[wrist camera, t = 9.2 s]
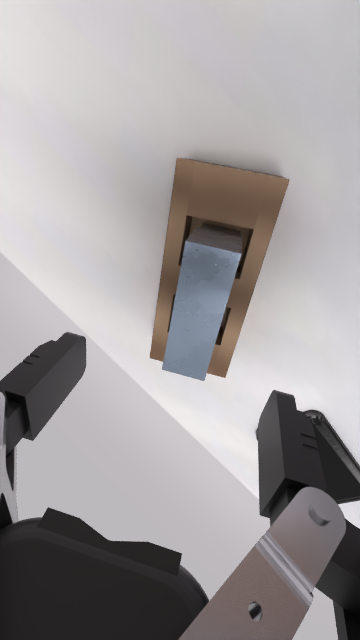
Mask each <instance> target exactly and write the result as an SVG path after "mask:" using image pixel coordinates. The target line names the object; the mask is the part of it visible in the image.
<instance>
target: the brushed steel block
mask: <svg viewBox="0 0 360 640" xmlns="http://www.w3.org/2000/svg"><path fill="white" fill-rule="evenodd" d="M241 253H242V236H241V231H237V230H232V229H228V228H223V227H219V226H215V225H210V224H206V223H203V224H202V225H201V227H198V226H197V227H196V228H195V229H194V231H193V232H192V233H191V235H190V236H189V237H188V239H187V240H186V242H185V247H184V253H183V258H182V263H181V269H180V274H179V280H178V285H177V291H176V296H175V301H174V307H173V312H172V318H171V323H170V329H169V334H168V339H167V345H166V350H165V356H164V361H163V367H162V370H166V371H170V372H173V373H177V374H180V375H184V376H188V377H191V378H195V379H199V380H202V381H204V380H205V377H206V373H207V370H208V366H209V363H210V360H211V356H212V353H213V349H214V346H215V343H216V339H217V336H218V332H219V329H220V325H221V322H222V319H223V315H224V312H225V308H226V305H227V302H228V298H229V295H230V291H231V288H232V285H233V281H234V278H235V274H236V271H237V267H238V264H239V261H240V257H241Z"/></svg>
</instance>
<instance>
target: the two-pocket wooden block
mask: <svg viewBox="0 0 360 640" xmlns="http://www.w3.org/2000/svg"><path fill="white" fill-rule="evenodd" d="M288 183H289V179H286V178H284V177H280V176H275V175H270V174H265V173H259V172H254V171H249V170H244V169H238V168H233V167H228V166H223V165H218V164H212V163H207V162H202V161H197V160H191V159H183V158H177V161H176V168H175V175H174V183H173V190H172V197H171V205H170V212H169V220H168V227H167V234H166V242H165V249H164V256H163V264H162V271H161V278H160V286H159V293H158V301H157V308H156V315H155V323H154V330H153V337H152V345H151V352H150V358H152V359H155V360H159V361H164V356H165V350H166V345H167V339H168V334H169V329H170V323H171V318H172V312H173V307H174V301H175V296H176V291H177V285H178V280H179V274H180V269H181V263H182V258H183V253H184V247H185V242H186V240H187V239H188V237H189V236H190V235H191V233H192V232H193V231H194V229H195V228H196V227H197V226H198V227H201V225H202V224H203V223H206V224H210V225H215V226H219V227H223V228H228V229H232V230H237V231H241V236H242V253H241V257H240V261H239V264H238V267H237V271H236V274H235V278H234V281H233V285H232V288H231V291H230V295H229V298H228V302H227V305H226V308H225V312H224V315H223V319H222V322H221V325H220V329H219V332H218V336H217V339H216V343H215V346H214V349H213V353H212V356H211V360H210V363H209V366H208V370H207V373H209V374H213V375H217V376H220V377H224V378H225V377H226V374H227V371H228V368H229V365H230V361H231V358H232V355H233V352H234V349H235V346H236V343H237V340H238V337H239V334H240V331H241V328H242V324H243V321H244V318H245V315H246V312H247V309H248V306H249V303H250V300H251V297H252V294H253V291H254V288H255V284H256V281H257V278H258V275H259V272H260V269H261V266H262V263H263V260H264V257H265V254H266V251H267V248H268V244H269V241H270V238H271V235H272V232H273V229H274V226H275V223H276V220H277V217H278V214H279V211H280V207H281V204H282V201H283V198H284V195H285V192H286V189H287V186H288Z"/></svg>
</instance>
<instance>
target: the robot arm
mask: <svg viewBox="0 0 360 640" xmlns="http://www.w3.org/2000/svg"><path fill="white" fill-rule="evenodd" d="M85 368H86V339H85V337H84V336H80V335H77V334H73V333H69V332H66V333H64V334H63V335H62V337H60V338H59V339H58V340H57V341H53V340H51V341H49V342H47V343H44V344H42V345H40V346H39V347H38V348H36V349H35V350H34V351H33V352H32V353H31V354H30V356H27V357H26V358H25V359H24V360H23V362H22V363H20V364H19V365H17V366H16V367H15V368H14V369H13V370H12V371H11V372H10V373H9V374H7V375H6V376H5V377H4V378H3V379H2V380H1V381H0V640H292V638H293V637H294V635H295V633H296V631H297V629H298V627H299V626H300V624H301V622H302V620H303V619H304V617H305V615H306V613H307V611H308V609H309V607H310V605H311V603H312V601H313V595H312V592H313V589H314V587H316V588H317V589H318V590H320V591H321V592H323V593H324V594H325V595H326V596H328V597H329V598H330V599H332V600H333V605H334V612H335V619H336V627H337V634H338V640H360V529H359V528H357V527H356V526H354V525H353V524H351V523H350V522H349V521H348V520H346V519H345V518H344V515H343V513H342V511H341V509H340V507H339V506H338V504H337V503H336V502H335V501H334V500H333V499H332V498H331V497H330V496H329V494H328V491H327V487H326V482H325V478H324V474H323V469H322V465H321V460H320V456H319V451H318V450H317V449H318V447H317V442H316V440H315V434H314V429H313V425H312V423H311V422H310V420H309V418H308V417H307V415H306V414H305V412H301V411H298V410H297V409H296V403H295V398H294V396H293V395H290V394H287V393H283V392H279V391H276V390H274V391H272V393H271V395H270V397H269V399H268V401H267V403H266V405H265V407H264V410H263V412H262V414H261V416H260V419H259V424H258V459H259V501H260V503H259V504H260V515H261V516H264V517H268V518H270V528H269V529H268V531H267V532H266V533H265V534H264V535H263V536H262V537H261V538H260V540H259V541H258V542H257V543H256V544H255V546H254V547H253V548H252V549H251V551H250V552H249V553H248V554H247V556H246V557H245V558H244V559H243V560H242V562H241V563H240V564H239V566H238V567H237V568H236V569H235V570H234V572H233V573H232V574H231V575H230V576H229V578H228V579H227V580H226V581H225V583H224V584H223V585H222V586H221V588H220V589H219V590H218V591H217V592H216V594H215V595H214V596H213V598H212V599H211V600H210V601H209V599H208V597H207V596H206V594H205V592H204V590H203V589H202V587H201V586H200V584H199V583H198V582H197V581H196V579H195V578H194V577H193V576H192V575H191V574H190V573H189V572H188V571H187V570H186V569H185V568H184V567H183V566H181V565H180V561H181V555H182V554H181V553H179V552H176V551H173V550H170V549H167V548H164V547H161V546H158V545H155V544H153V543H149V542H130V541H110V540H107V539H106V538H104V537H103V536H102V535H101V534H99V533H98V532H97V531H95V530H94V529H93V528H92V527H90V526H89V525H88V524H86V523H85V522H84V521H82V520H81V519H80V518H77V517H74V516H71V515H69V514H65V513H63V512H60V511H57V510H54V509H51V508H47V510H46V512H45V514H44V515H43V517H42V518H30V519H26V520H22V521H18V511H17V503H16V455H17V453H16V451H17V450H16V445H17V444H18V442H19V441H20V440H21V439H22V437H23V438H26V439H29V440H32V441H33V440H34V439H35V437H36V436H37V435H38V434H39V432H40V431H41V430H42V428H43V427H44V426H45V425H46V423H47V422H48V421H49V419H50V418H51V417H52V415H53V414H54V413H55V412H56V410H57V409H58V408H59V406H60V405H61V404H62V402H63V401H64V400H65V398H66V397H67V396H68V394H69V393H70V392H71V390H72V389H73V388H74V387H75V385H76V384H77V383H78V381H79V380H80V379H81V377H82V376H83V373H84V371H85Z"/></svg>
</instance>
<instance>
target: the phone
mask: <svg viewBox="0 0 360 640" xmlns="http://www.w3.org/2000/svg"><path fill="white" fill-rule="evenodd" d="M305 414H306V415H307V417H308V418H309V420H310V422H311V423H312V425H313V429H314V434H315V440H316V442H317V447H318V449H317V450H318V451H319V456H320V460H321V465H322V469H323V474H324V478H325V482H326V487H327V491H328V494H329V496H330V497H331V498H332V499H333V500H334V501H335V502H336V503H337V504H342V503H347V502H353V501H359V500H360V466H359V464H358V463H357V462H356V460H355V459H354V457H353V456H352V455H351V453H350V452H349V450H348V449H347V448H346V446H345V445H344V443H343V442H342V440H341V439H340V438H339V436H338V435H337V433H336V432H335V431H334V429H333V428H332V426H331V425H330V424H329V422H328V421H327V419H326V418H325V416H324V415H323V414H322V413H321V412H319V411H316V410H309V411H305ZM256 436H257V440H258V429H257V431H256Z"/></svg>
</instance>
